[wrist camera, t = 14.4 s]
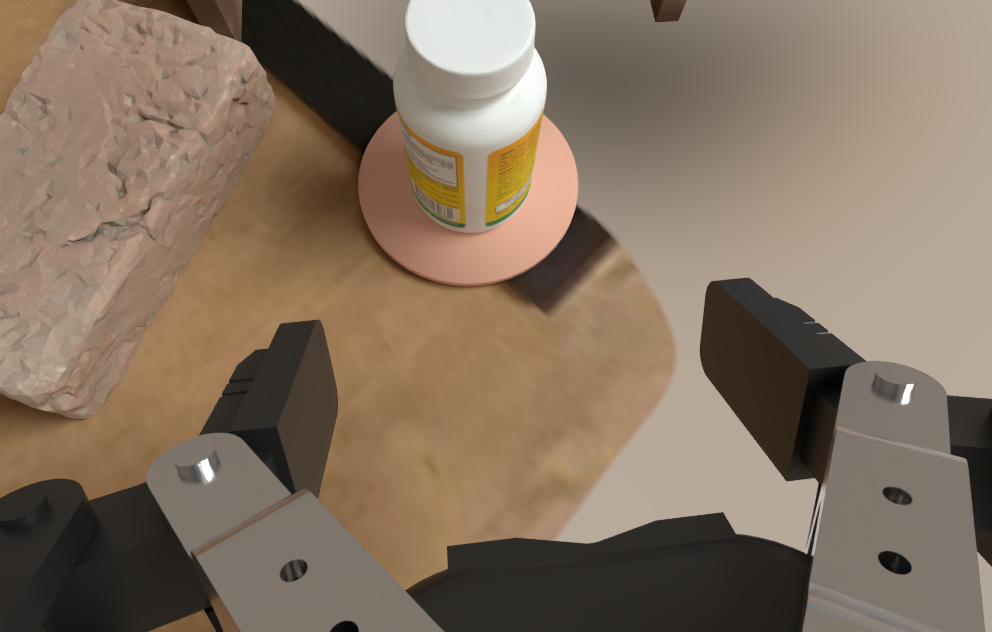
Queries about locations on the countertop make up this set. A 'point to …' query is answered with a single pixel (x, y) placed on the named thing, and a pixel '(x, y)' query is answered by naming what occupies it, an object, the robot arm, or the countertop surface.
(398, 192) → the pink round coaster
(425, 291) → the countertop surface
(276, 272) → the countertop surface
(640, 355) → the countertop surface
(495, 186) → the supplement bottle
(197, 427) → the countertop surface
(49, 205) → the brick
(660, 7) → the wooden frame
